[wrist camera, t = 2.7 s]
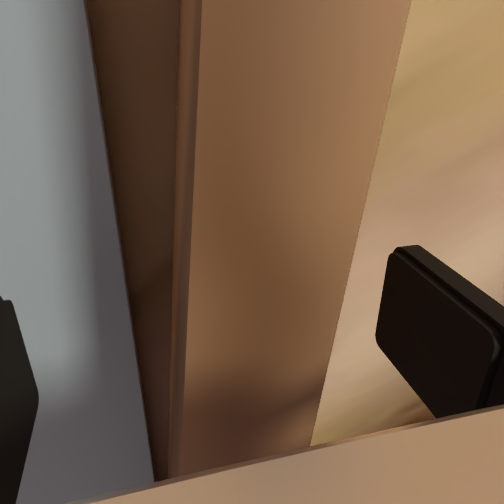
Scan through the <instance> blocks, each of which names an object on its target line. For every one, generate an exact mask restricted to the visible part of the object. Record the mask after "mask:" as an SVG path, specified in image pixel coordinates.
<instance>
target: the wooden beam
mask: <svg viewBox="0 0 504 504" xmlns="http://www.w3.org/2000/svg"><path fill="white" fill-rule="evenodd" d="M411 1H412V0H180V9H179V47H178V84H177V122H176V160H175V197H174V235H173V273H172V310H171V348H170V386H169V423H168V461H167V479H171V478H175V477H180V476H184V475H188V474H193V473H197V472H201V471H206V470H210V469H214V468H219V467H223V466H227V465H232V464H236V463H240V462H245V461H249V460H253V459H258V458H262V457H267V456H271V455H276V454H280V453H284V452H289V451H293V450H298V449H302V448H307V447H310V443H311V438H312V434H313V429H314V425H315V421H316V416H317V412H318V408H319V403H320V399H321V394H322V390H323V386H324V381H325V377H326V373H327V368H328V364H329V359H330V355H331V351H332V346H333V342H334V338H335V333H336V329H337V324H338V320H339V316H340V311H341V307H342V303H343V298H344V294H345V289H346V285H347V281H348V276H349V272H350V268H351V263H352V259H353V254H354V250H355V246H356V241H357V237H358V232H359V228H360V224H361V219H362V215H363V211H364V206H365V202H366V197H367V193H368V189H369V184H370V180H371V176H372V171H373V167H374V162H375V158H376V154H377V149H378V145H379V141H380V136H381V132H382V127H383V123H384V119H385V114H386V110H387V106H388V101H389V97H390V92H391V88H392V84H393V79H394V75H395V71H396V66H397V62H398V57H399V53H400V49H401V44H402V40H403V36H404V31H405V27H406V22H407V18H408V14H409V9H410V5H411Z"/></svg>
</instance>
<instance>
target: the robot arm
mask: <svg viewBox="0 0 504 504" xmlns="http://www.w3.org/2000/svg"><path fill="white" fill-rule="evenodd" d="M375 336H376V342H377V344H378V346H379V348H380V349H381V350H382V351H383V353H384V354H385V355H386V356H387V357H388V359H389V360H390V361H391V362H392V364H393V365H394V366H395V367H396V369H397V370H398V371H399V372H400V374H401V375H402V376H403V377H404V379H405V380H406V381H407V382H408V384H409V385H410V386H411V387H412V389H413V390H414V391H415V392H416V394H417V395H418V396H419V397H420V398H421V400H422V401H423V402H424V403H425V405H426V406H427V407H428V408H429V410H430V411H431V412H432V413H433V415H434V416H435V417H436V418H437V419H433V420H428V421H424V422H419V423H415V424H410V425H405V426H401V427H396V428H392V429H387V430H382V431H378V432H374V433H369V434H365V435H360V436H356V437H351V438H347V439H342V440H338V441H333V442H329V443H324V444H320V445H315V446H311V447H307V448H302V449H298V450H293V451H289V452H284V453H280V454H276V455H271V456H267V457H262V458H258V459H253V460H249V461H245V462H240V463H236V464H232V465H227V466H223V467H219V468H214V469H210V470H206V471H201V472H197V473H193V474H188V475H184V476H180V477H175V478H171V479H167V480H162V481H158V482H154V483H149V484H145V485H141V486H136V487H132V488H128V489H123V490H119V491H115V492H110V493H106V494H102V495H98V496H94V497H90V498H86V499H82V500H78V501H73V502H69V503H65V504H504V306H502V305H501V304H499V303H498V302H497V301H495V300H494V299H493V298H491V297H490V296H488V295H487V294H486V293H484V292H483V291H482V290H480V289H479V288H477V287H476V286H475V285H473V284H472V283H471V282H469V281H468V280H466V279H465V278H464V277H462V276H461V275H460V274H458V273H457V272H455V271H454V270H453V269H451V268H450V267H448V266H447V265H446V264H444V263H443V262H442V261H440V260H439V259H437V258H436V257H435V256H433V255H432V254H431V253H429V252H428V251H426V250H425V249H424V248H422V247H421V246H419V245H412V246H403V247H397V248H396V249H395V250H394V252H393V253H391V254H390V255H389V257H388V261H387V267H386V273H385V279H384V285H383V291H382V297H381V303H380V309H379V315H378V321H377V327H376V334H375ZM38 405H39V394H38V389H37V385H36V382H35V378H34V375H33V371H32V368H31V364H30V361H29V358H28V354H27V351H26V347H25V344H24V340H23V337H22V333H21V330H20V326H19V323H18V320H17V316H16V313H15V309H14V306H13V303H12V301H11V300H3V299H2V297H1V296H0V504H16V500H17V496H18V492H19V488H20V483H21V479H22V475H23V470H24V466H25V462H26V457H27V453H28V449H29V445H30V440H31V436H32V432H33V427H34V423H35V419H36V414H37V410H38Z"/></svg>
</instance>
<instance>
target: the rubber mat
mask: <svg viewBox="0 0 504 504" xmlns="http://www.w3.org/2000/svg"><path fill="white" fill-rule="evenodd" d="M0 296H1V297H2V299H3V300H11V301H12V303H13V306H14V309H15V313H16V316H17V320H18V323H19V326H20V330H21V333H22V337H23V340H24V344H25V347H26V351H27V354H28V358H29V361H30V364H31V368H32V371H33V375H34V378H35V382H36V385H37V389H38V394H39V405H38V410H37V414H36V419H35V423H34V427H33V432H32V436H31V440H30V445H29V449H28V453H27V457H26V462H25V466H24V470H23V475H22V479H21V483H20V488H19V492H18V496H17V500H16V504H65V503H69V502H73V501H78V500H82V499H86V498H90V497H94V496H98V495H102V494H106V493H110V492H115V491H119V490H123V489H128V488H132V487H136V486H141V485H145V484H149V483H154V482H156V480H155V473H154V466H153V459H152V452H151V445H150V439H149V432H148V425H147V418H146V411H145V404H144V397H143V390H142V383H141V376H140V369H139V362H138V355H137V348H136V342H135V335H134V328H133V321H132V314H131V307H130V300H129V293H128V286H127V279H126V272H125V265H124V258H123V252H122V245H121V238H120V231H119V224H118V217H117V210H116V203H115V196H114V189H113V182H112V175H111V168H110V162H109V155H108V148H107V141H106V134H105V127H104V120H103V113H102V106H101V99H100V92H99V85H98V78H97V71H96V65H95V58H94V51H93V44H92V37H91V30H90V23H89V16H88V9H87V2H86V0H0Z"/></svg>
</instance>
